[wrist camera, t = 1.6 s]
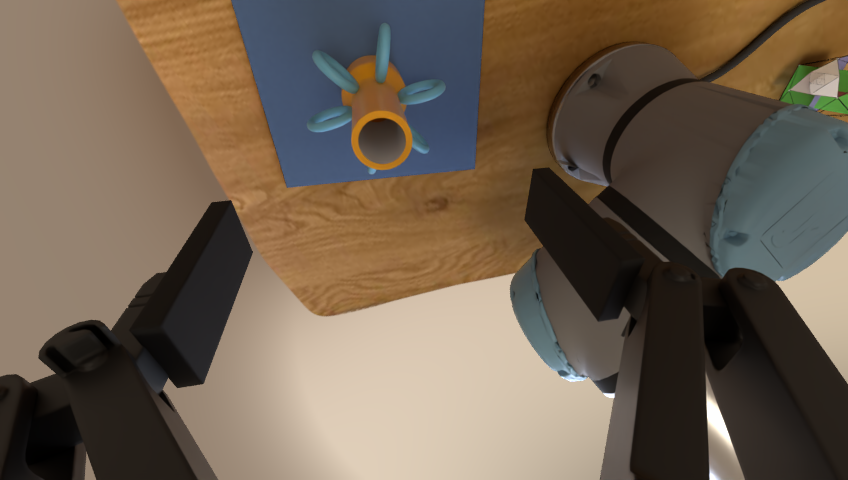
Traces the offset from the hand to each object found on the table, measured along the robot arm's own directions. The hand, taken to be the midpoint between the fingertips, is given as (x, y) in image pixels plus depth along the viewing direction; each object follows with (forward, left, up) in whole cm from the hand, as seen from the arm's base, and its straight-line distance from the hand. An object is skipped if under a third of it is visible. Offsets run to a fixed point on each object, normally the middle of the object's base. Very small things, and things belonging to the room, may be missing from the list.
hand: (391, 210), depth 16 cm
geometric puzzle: (-51, +3, -25) cm, 57 cm away
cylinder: (0, 0, -24) cm, 24 cm away
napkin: (0, 0, -24) cm, 24 cm away
